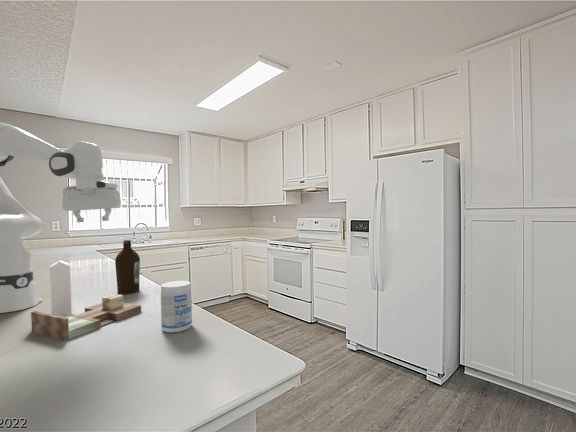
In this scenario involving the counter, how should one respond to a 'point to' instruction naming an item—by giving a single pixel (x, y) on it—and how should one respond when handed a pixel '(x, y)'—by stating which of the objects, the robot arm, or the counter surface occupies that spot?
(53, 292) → the milk
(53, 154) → the robot arm
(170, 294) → the supplement tub
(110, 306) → the block
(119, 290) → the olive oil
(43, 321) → the board
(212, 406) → the counter surface
